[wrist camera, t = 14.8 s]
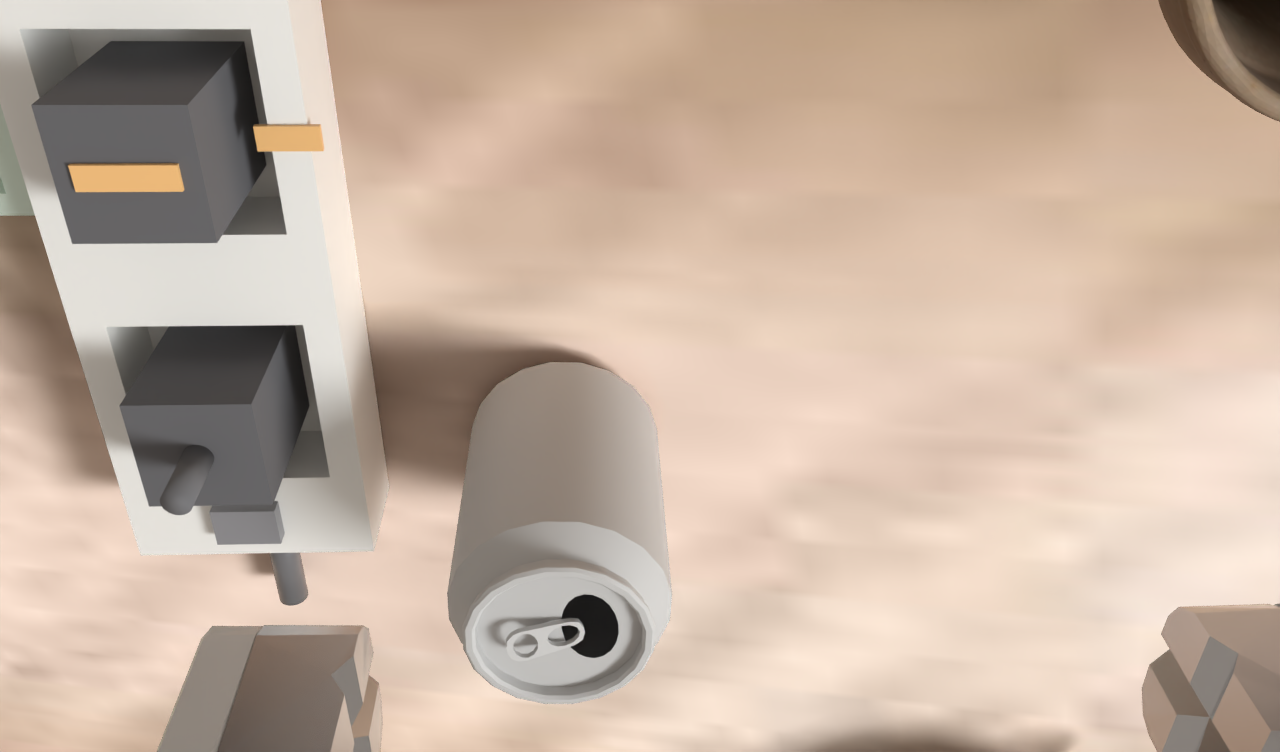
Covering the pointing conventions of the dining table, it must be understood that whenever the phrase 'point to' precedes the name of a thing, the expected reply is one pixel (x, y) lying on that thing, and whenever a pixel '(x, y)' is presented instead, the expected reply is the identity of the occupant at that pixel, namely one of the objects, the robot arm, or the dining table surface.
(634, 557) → the can
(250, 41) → the white power strip
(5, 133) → the tray
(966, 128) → the dining table surface
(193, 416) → the twin plug
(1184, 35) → the flower pot
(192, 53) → the dark grey block
